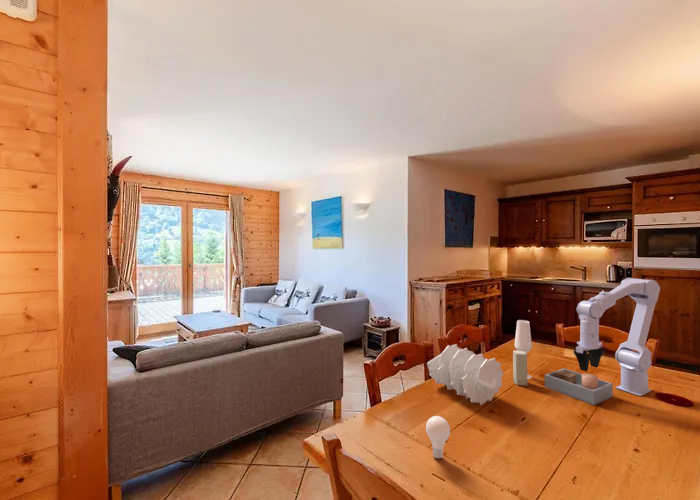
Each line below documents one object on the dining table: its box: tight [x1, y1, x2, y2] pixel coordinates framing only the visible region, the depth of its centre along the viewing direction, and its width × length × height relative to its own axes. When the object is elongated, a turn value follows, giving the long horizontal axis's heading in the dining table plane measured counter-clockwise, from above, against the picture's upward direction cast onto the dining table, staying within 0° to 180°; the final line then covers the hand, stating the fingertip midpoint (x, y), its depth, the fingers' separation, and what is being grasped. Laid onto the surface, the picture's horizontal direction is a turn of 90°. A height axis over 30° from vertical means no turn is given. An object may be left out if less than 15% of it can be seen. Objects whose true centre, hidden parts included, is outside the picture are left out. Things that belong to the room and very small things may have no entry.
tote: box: [544, 368, 614, 406], centre depth 129 cm, size 14×18×5 cm
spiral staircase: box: [426, 343, 504, 406], centre depth 127 cm, size 18×18×25 cm
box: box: [512, 350, 528, 386], centre depth 137 cm, size 5×4×13 cm
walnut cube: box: [556, 371, 576, 384], centre depth 133 cm, size 5×5×5 cm
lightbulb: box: [425, 415, 451, 459], centre depth 90 cm, size 6×6×11 cm
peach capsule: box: [581, 373, 599, 390], centre depth 126 cm, size 5×5×7 cm
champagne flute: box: [514, 319, 533, 380], centre depth 145 cm, size 7×7×24 cm
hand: (589, 368), depth 126 cm, fingers open, 7 cm apart
